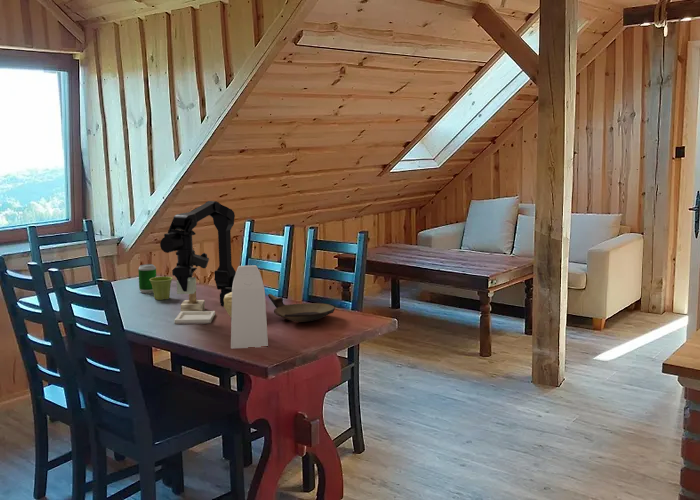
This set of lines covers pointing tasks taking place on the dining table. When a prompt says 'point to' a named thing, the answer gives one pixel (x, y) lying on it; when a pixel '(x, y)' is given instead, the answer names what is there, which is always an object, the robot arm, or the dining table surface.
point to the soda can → (146, 277)
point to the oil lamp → (301, 310)
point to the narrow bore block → (190, 287)
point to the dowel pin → (192, 298)
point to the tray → (194, 317)
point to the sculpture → (228, 303)
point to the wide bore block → (193, 306)
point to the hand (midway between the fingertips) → (186, 289)
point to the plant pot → (161, 287)
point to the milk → (248, 309)
